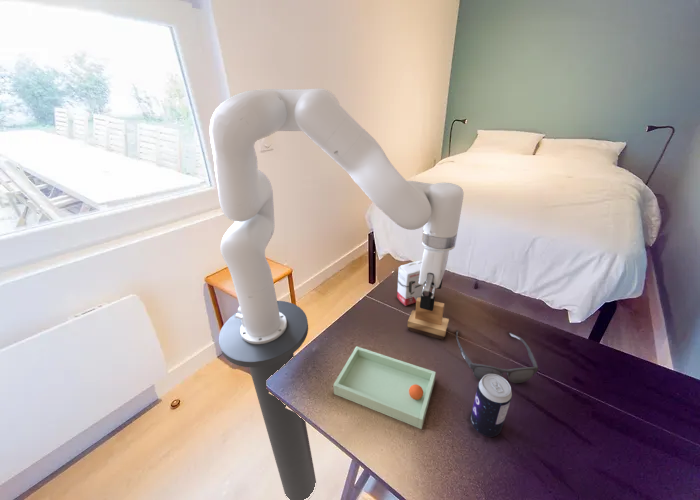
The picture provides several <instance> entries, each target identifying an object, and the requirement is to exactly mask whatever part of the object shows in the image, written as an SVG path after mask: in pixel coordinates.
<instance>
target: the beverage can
mask: <svg viewBox="0 0 700 500" xmlns="http://www.w3.org/2000/svg"><path fill="white" fill-rule="evenodd" d="M508 381H509V380H507V379H506V378H505V377H503V376H499V375H496V374H487V375H485V376H484V377H483V378H482V379H481V380H479V381H478V384H477V388H476V393H475V397H474V400H473V405H472V409H471V413H470V424H471V426H472V427H473V428H474V429H475V430H476V432H478V433H479V434H480V435H482V436H485V437H489V438H493V437H496V436H498V435H500V434H501V432H502V428H503V426H504V423H505V420H506V416H507V414H508V411H509V408H510V404H511V401H512V398H513V392H512V387H511V384H510V383H509V382H508Z"/></svg>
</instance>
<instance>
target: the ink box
mask: <svg viewBox="0 0 700 500" xmlns="http://www.w3.org/2000/svg"><path fill="white" fill-rule="evenodd" d="M421 263H422V259H420V260H416V261H412V262H409V263H405V264H402V265H400V266H398V271H397V272H398V273H397V274H398V275H397V291H396V292H397V294H396V299H398V301H399V302H400V303H401V304H402V305H404V306H405V307H407V306H410V305H413V304H416V300H417V298H418V297H419V298H421V294H422V291H423V286H424V284H423V285H420V284H419V283H418V282H419V276H420V269H421Z"/></svg>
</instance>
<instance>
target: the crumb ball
mask: <svg viewBox="0 0 700 500" xmlns="http://www.w3.org/2000/svg"><path fill="white" fill-rule="evenodd" d="M409 395H410V396H411V398H413V399H415V400H419V399H421V398H422V396H423V389H422V388H421V387H420V386H419V385H416V384H415V385H412V386H411V387H410V389H409Z"/></svg>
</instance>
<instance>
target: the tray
mask: <svg viewBox="0 0 700 500" xmlns="http://www.w3.org/2000/svg"><path fill="white" fill-rule="evenodd" d="M436 374H437V372H436V371H434V370H431V369H429V368H425V367H422V366H418V365H416V364H412V363H409V362H406V361H404V360H400V359H397V358H394V357H391V356H388V355H385V354H382V353H379V352H375V351H372V350H369V349H366V348H364V347H361V346H357V345H356V346H355V348H353V351H352V352H351V354H350V356H349V358H348V359H347V361H346V363H345V364H344V366H343V368H342V370H341V371H340V373H339V375H338V376H337V377H336V379H335V381H334V383H333V395H336V396H338V397H341V398H343V399H345V400H347V401H350V402H353V403H355V404H358V405H360V406H363V407H365V408H367V409H370V410H373V411H375V412H377V413H380V414H383V415H385V416H388V417H390V418H393V419H394V420H398V421H400V422H402V423H405V424H408V425H410V426H412V427H415V428H417V429H420V430H422V429H423V426H424V423H425V419H426V414H427V411H428V407H429V403H430V401H431V396H432V393H433V389H434V386H435V382H436V376H437V375H436ZM415 384H416V385H419V386H420V387H421V388H422V389H423V396H422V398H421V399H419V400H415V399H413V398H411V396H410V395H409V389H410V387H411V386H412V385H415Z"/></svg>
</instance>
